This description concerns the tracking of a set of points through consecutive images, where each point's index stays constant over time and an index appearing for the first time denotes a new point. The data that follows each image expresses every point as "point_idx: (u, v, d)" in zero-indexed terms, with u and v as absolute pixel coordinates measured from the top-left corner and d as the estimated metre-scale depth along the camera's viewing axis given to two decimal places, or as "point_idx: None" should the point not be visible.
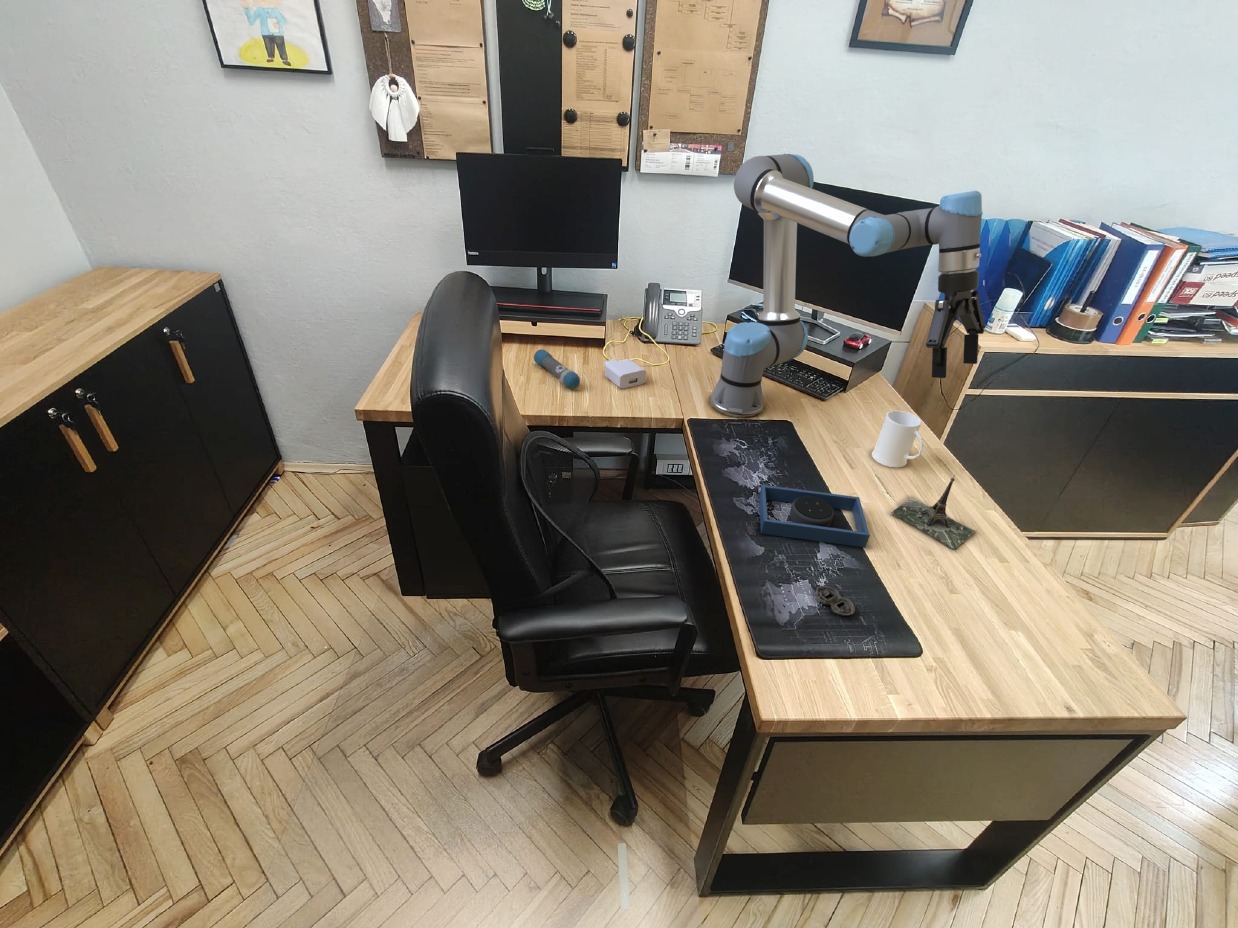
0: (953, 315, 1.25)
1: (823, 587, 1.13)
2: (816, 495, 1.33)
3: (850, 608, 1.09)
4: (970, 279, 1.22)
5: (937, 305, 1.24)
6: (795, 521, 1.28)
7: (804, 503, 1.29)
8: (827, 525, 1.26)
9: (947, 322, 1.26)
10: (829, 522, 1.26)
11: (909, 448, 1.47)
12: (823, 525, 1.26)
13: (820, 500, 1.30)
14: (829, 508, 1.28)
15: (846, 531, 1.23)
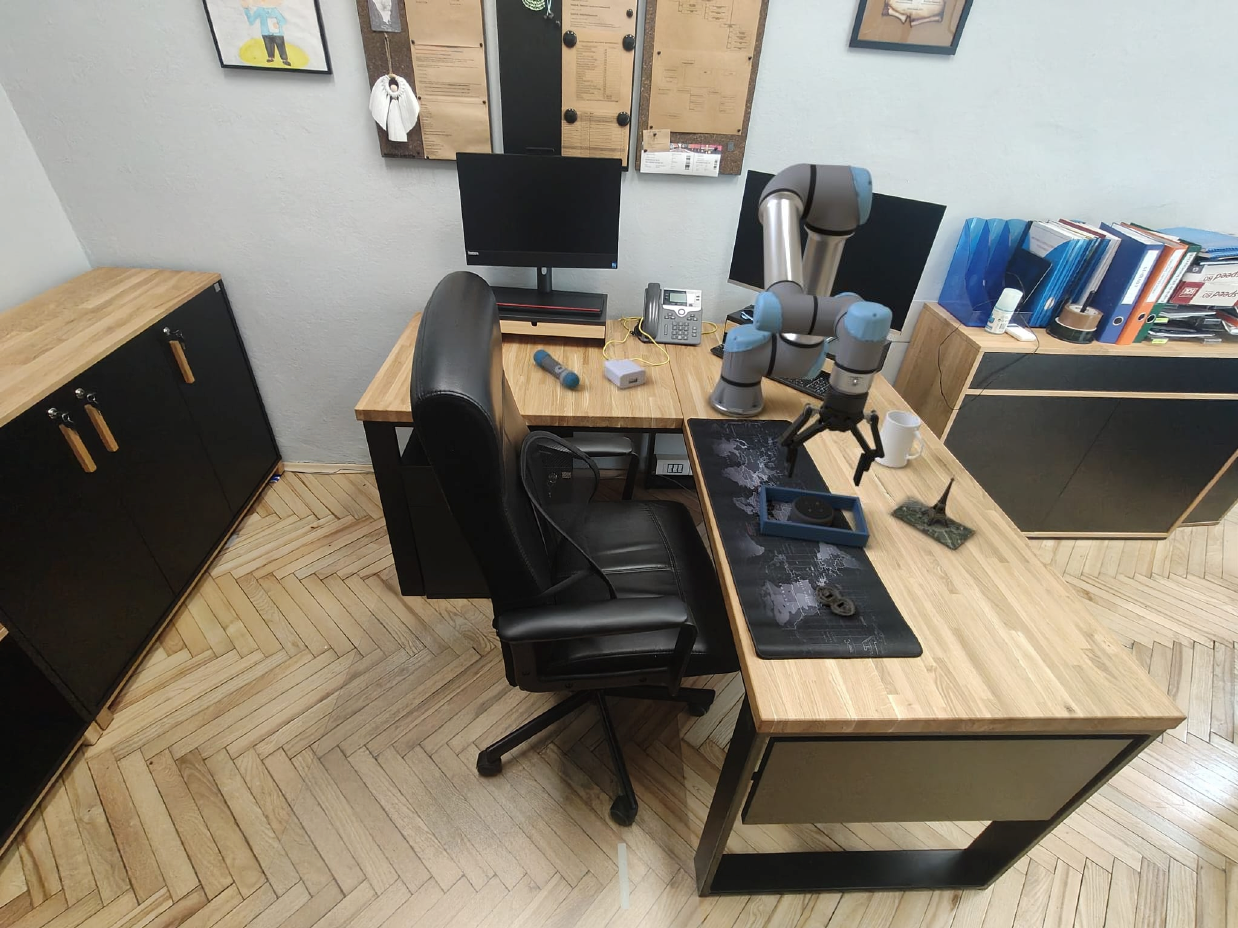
0: (818, 426, 1.16)
1: (823, 587, 1.13)
2: (816, 495, 1.33)
3: (850, 608, 1.09)
4: (839, 400, 1.10)
5: (804, 408, 1.16)
6: (795, 521, 1.28)
7: (804, 503, 1.29)
8: (827, 525, 1.26)
9: (810, 429, 1.17)
10: (829, 522, 1.26)
11: (909, 448, 1.47)
12: (823, 525, 1.26)
13: (820, 500, 1.30)
14: (829, 508, 1.28)
15: (846, 531, 1.23)
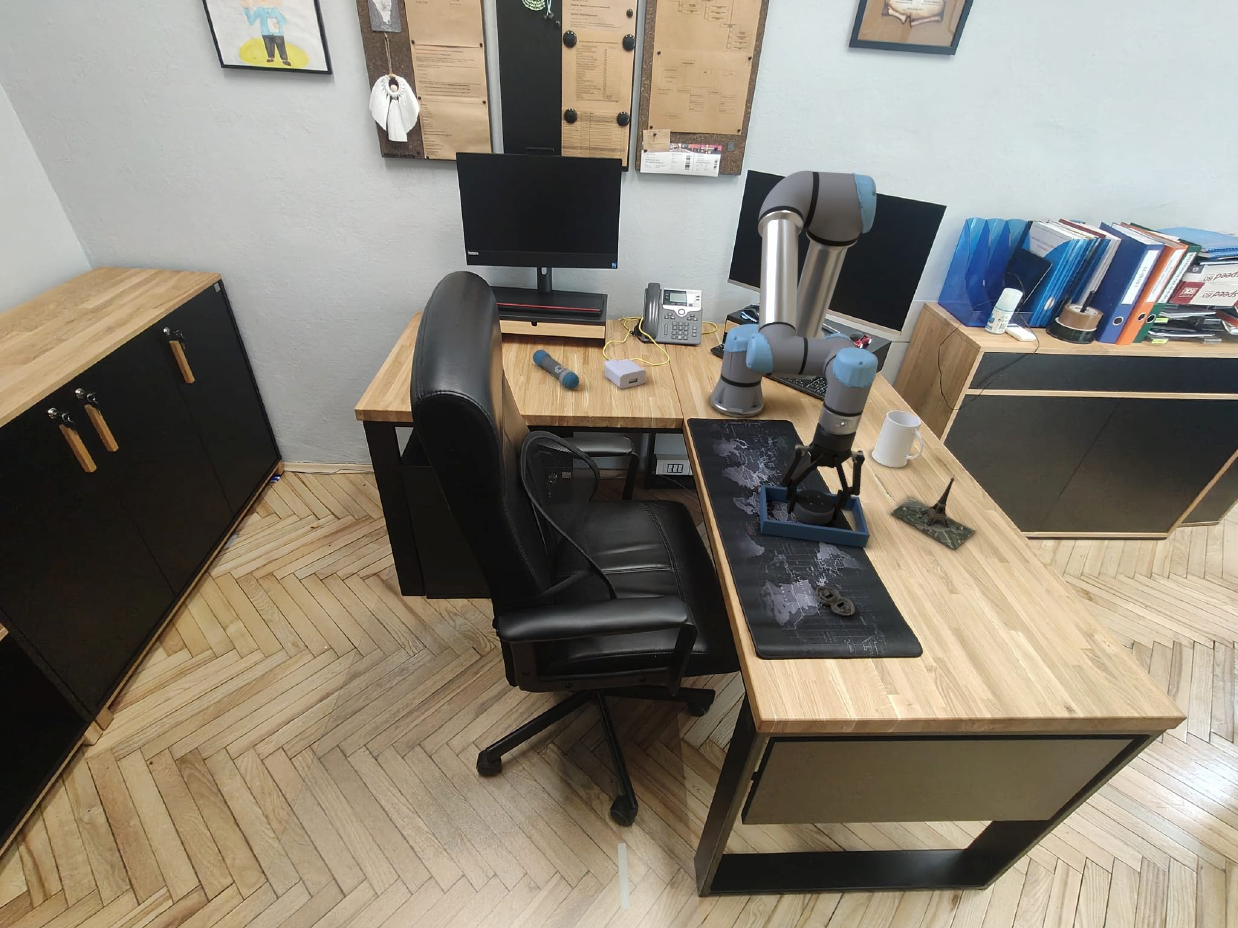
0: (810, 464, 1.21)
1: (823, 587, 1.13)
2: None
3: (850, 608, 1.09)
4: (828, 440, 1.15)
5: (794, 448, 1.22)
6: (796, 514, 1.27)
7: (805, 496, 1.29)
8: (828, 518, 1.26)
9: (804, 468, 1.23)
10: (830, 516, 1.26)
11: (909, 448, 1.47)
12: (824, 518, 1.25)
13: (821, 493, 1.30)
14: (830, 501, 1.27)
15: (846, 531, 1.23)
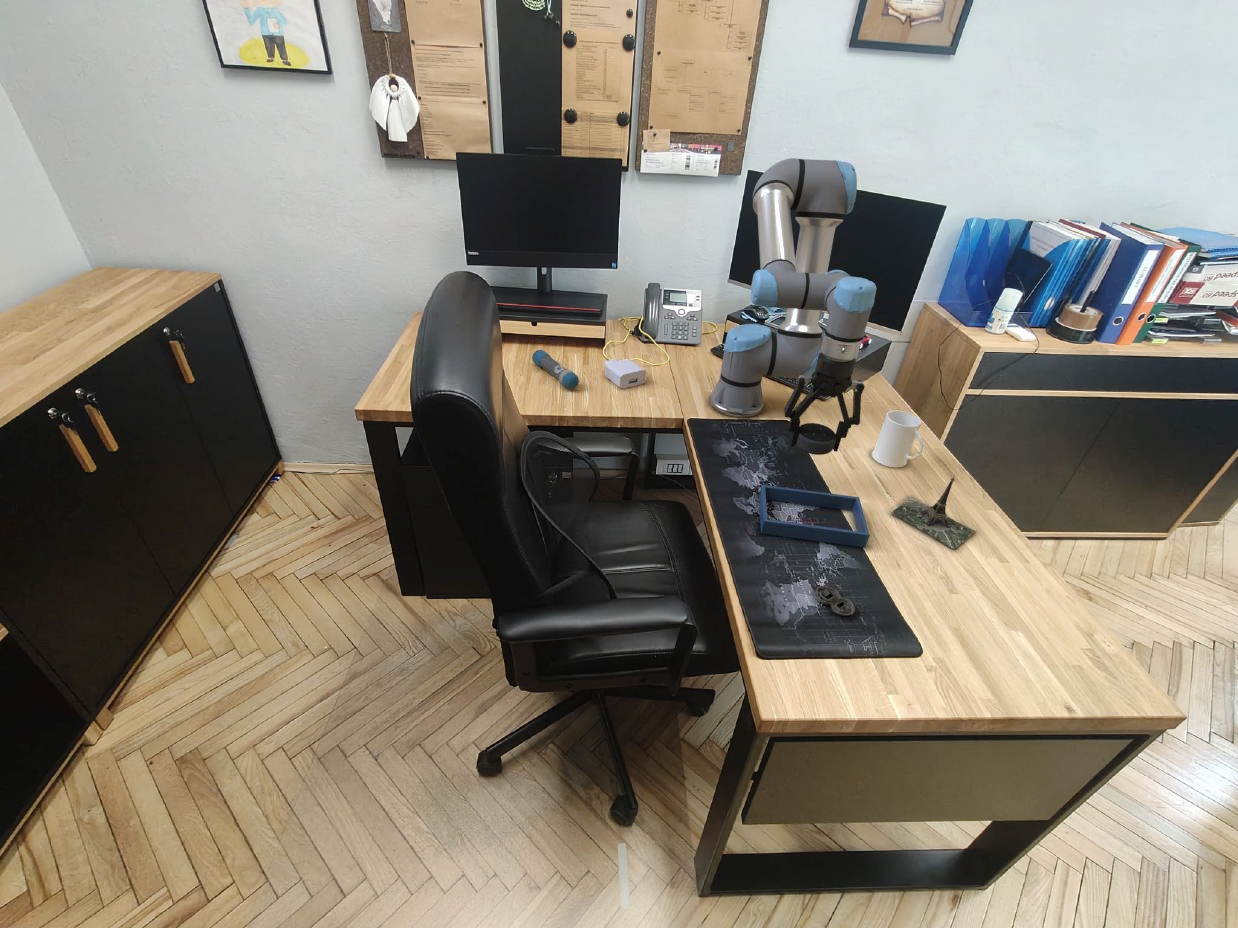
0: (812, 394, 1.28)
1: (823, 587, 1.13)
2: (816, 495, 1.33)
3: (850, 608, 1.09)
4: (829, 367, 1.22)
5: None
6: (799, 445, 1.34)
7: (808, 428, 1.35)
8: (830, 448, 1.32)
9: (807, 398, 1.29)
10: (832, 445, 1.32)
11: (909, 448, 1.47)
12: (826, 448, 1.32)
13: (823, 426, 1.36)
14: (832, 433, 1.34)
15: (846, 531, 1.23)
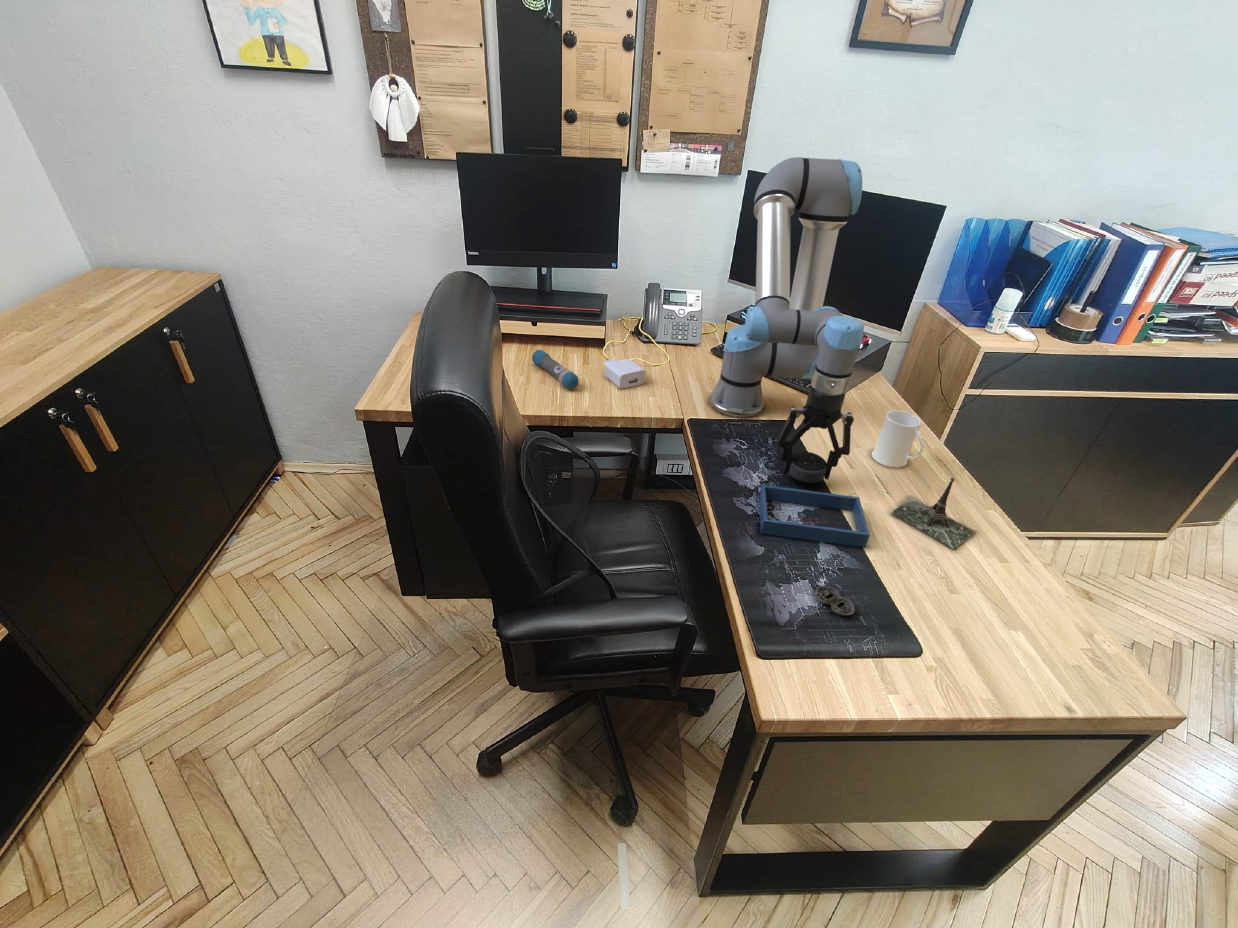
0: (804, 426, 1.33)
1: (823, 587, 1.13)
2: (816, 495, 1.33)
3: (850, 608, 1.09)
4: (820, 401, 1.27)
5: None
6: (792, 473, 1.39)
7: (800, 457, 1.40)
8: (821, 477, 1.37)
9: (799, 429, 1.34)
10: (823, 474, 1.37)
11: (909, 448, 1.47)
12: (817, 476, 1.37)
13: (815, 455, 1.41)
14: (823, 461, 1.39)
15: (846, 531, 1.23)
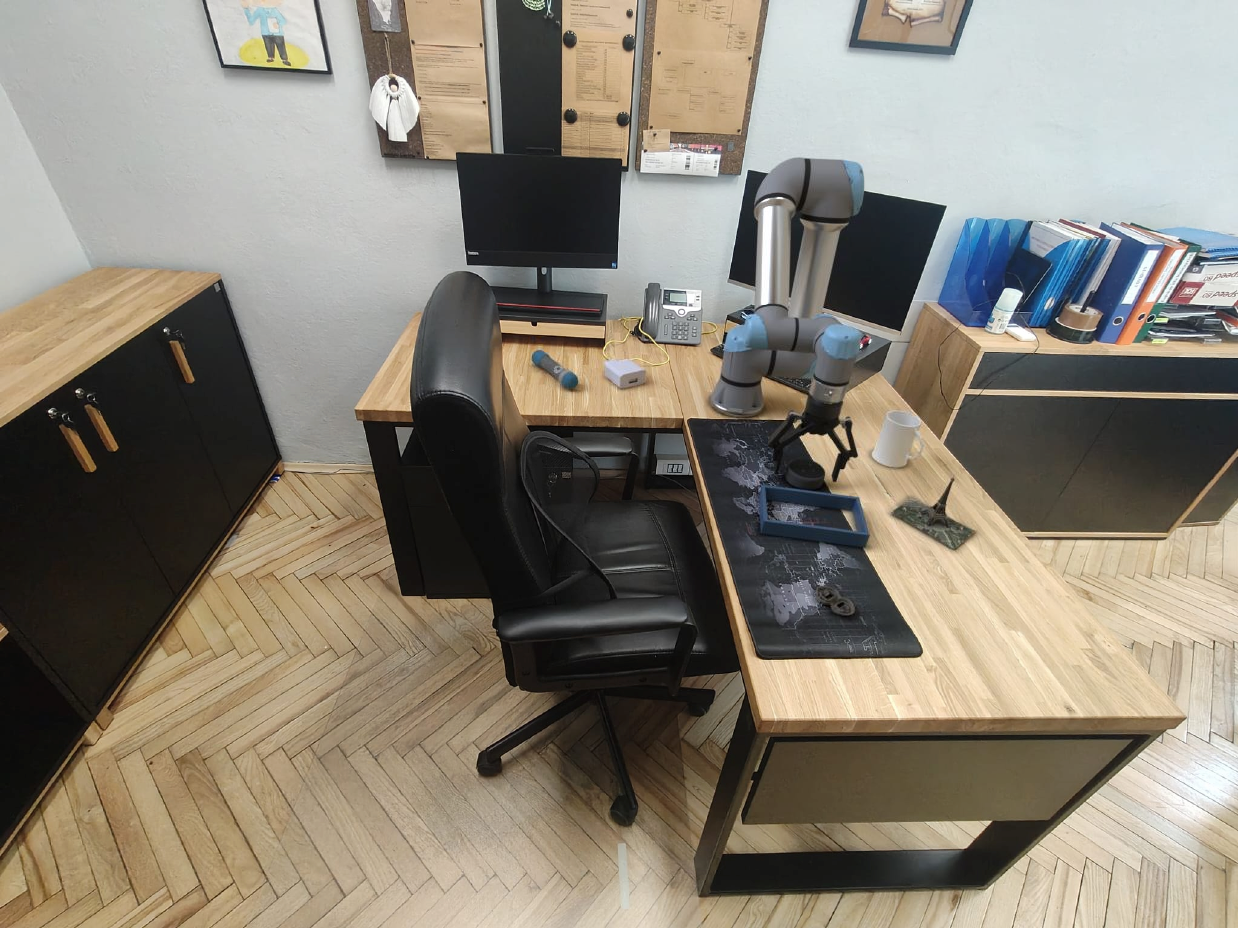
0: (800, 430, 1.34)
1: (823, 587, 1.13)
2: (816, 495, 1.33)
3: (850, 608, 1.09)
4: (817, 409, 1.28)
5: (788, 414, 1.34)
6: (790, 480, 1.40)
7: (798, 464, 1.41)
8: (819, 484, 1.39)
9: (794, 433, 1.35)
10: (821, 481, 1.39)
11: (909, 448, 1.47)
12: (815, 483, 1.38)
13: (813, 462, 1.42)
14: (821, 469, 1.40)
15: (846, 531, 1.23)
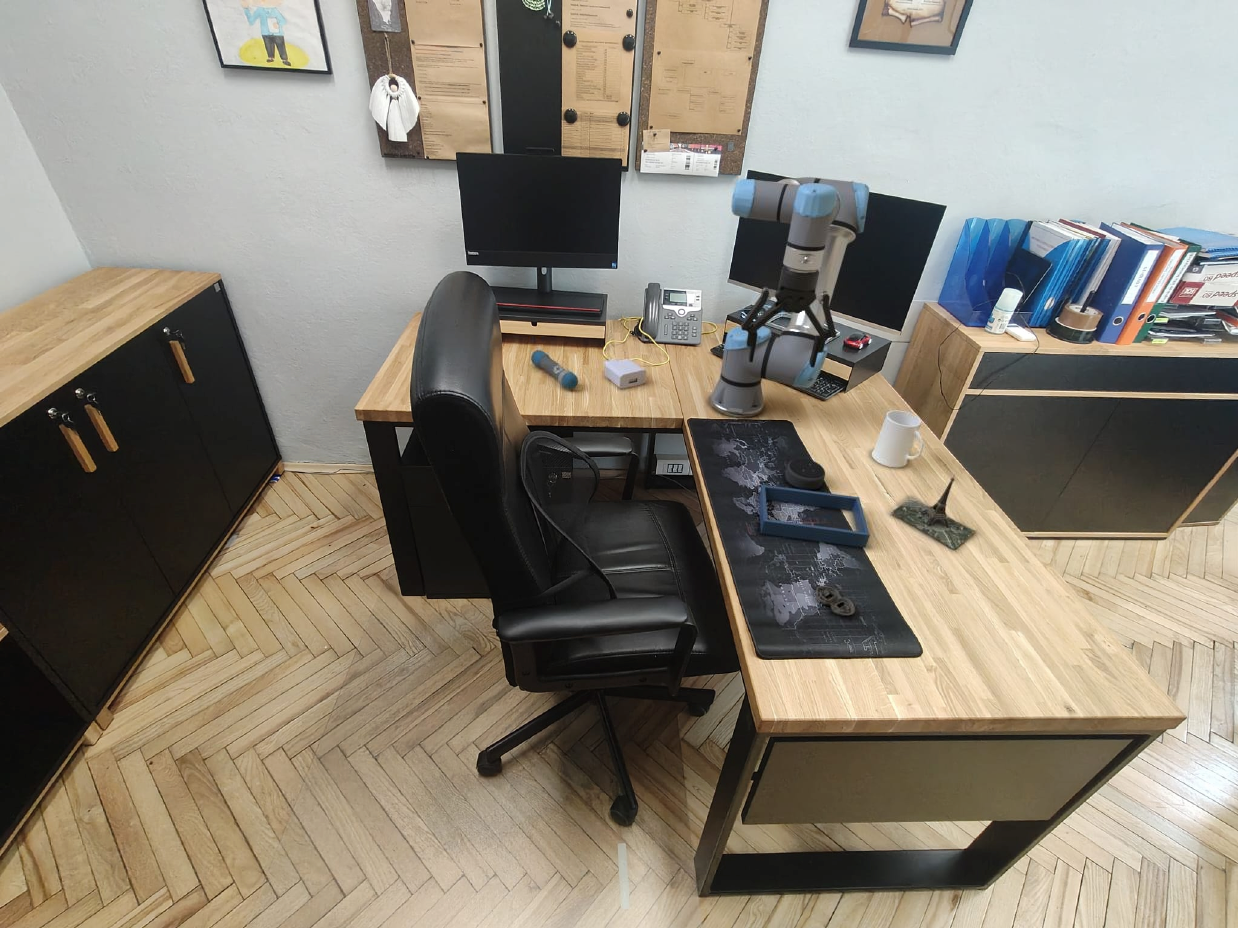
0: (774, 308, 1.26)
1: (823, 587, 1.13)
2: (816, 495, 1.33)
3: (850, 608, 1.09)
4: (792, 279, 1.20)
5: (762, 291, 1.26)
6: (790, 480, 1.40)
7: (798, 464, 1.41)
8: (819, 484, 1.39)
9: (768, 312, 1.27)
10: (821, 481, 1.39)
11: (909, 448, 1.47)
12: (815, 483, 1.38)
13: (813, 462, 1.42)
14: (821, 469, 1.40)
15: (846, 531, 1.23)
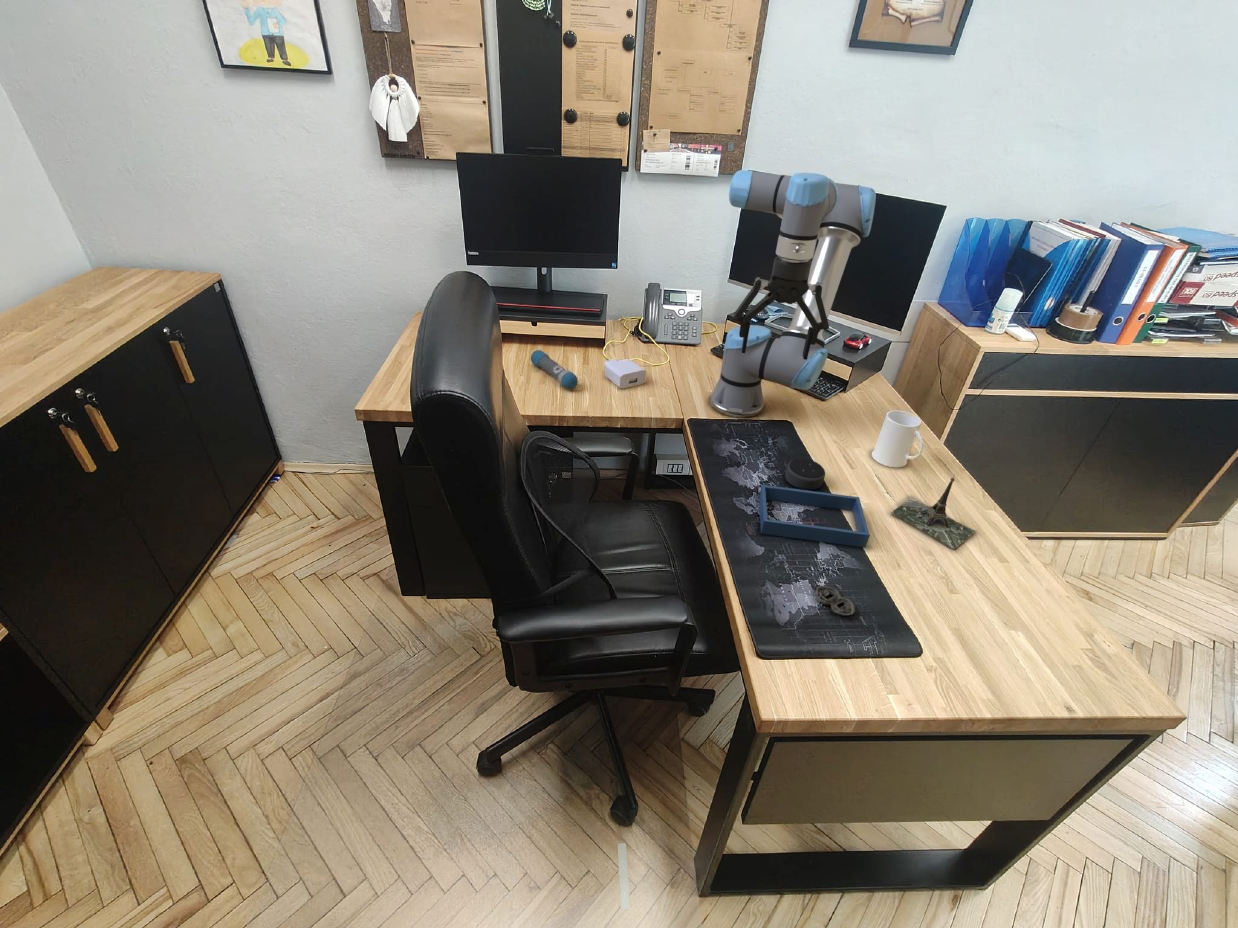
0: (767, 298, 1.25)
1: (823, 587, 1.13)
2: (816, 495, 1.33)
3: (850, 608, 1.09)
4: (784, 269, 1.20)
5: (754, 282, 1.26)
6: (790, 480, 1.40)
7: (798, 464, 1.41)
8: (819, 484, 1.39)
9: (761, 302, 1.27)
10: (821, 481, 1.39)
11: (909, 448, 1.47)
12: (815, 483, 1.38)
13: (813, 462, 1.42)
14: (821, 469, 1.40)
15: (846, 531, 1.23)
